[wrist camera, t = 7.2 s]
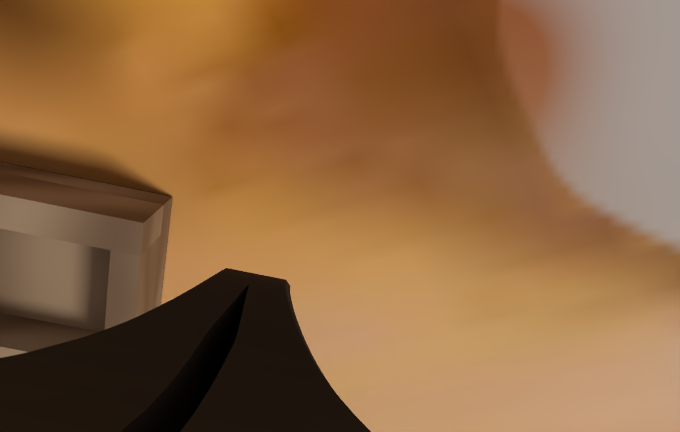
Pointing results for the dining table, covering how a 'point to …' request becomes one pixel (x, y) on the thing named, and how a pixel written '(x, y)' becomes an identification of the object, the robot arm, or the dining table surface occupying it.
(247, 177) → the dining table surface
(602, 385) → the dining table surface
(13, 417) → the robot arm
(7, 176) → the wooden tray
